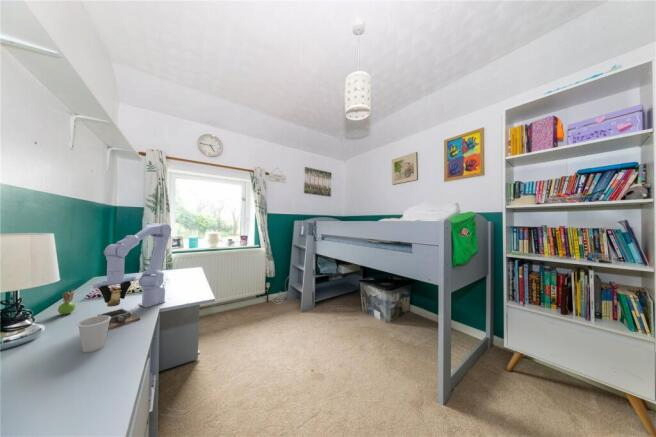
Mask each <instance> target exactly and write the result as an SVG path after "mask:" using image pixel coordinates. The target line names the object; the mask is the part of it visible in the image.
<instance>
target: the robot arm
mask: <svg viewBox="0 0 656 437" xmlns="http://www.w3.org/2000/svg"><path fill="white" fill-rule="evenodd" d="M171 233H172V228H171V226H170V224H169V223H159V222H157V223H154V222H150V223H148V224H146V225H145V227H143V229H141V230H140V231H138V232H137V233H135V234H134V235H133V234H130V235H128V234H127V235H125V237H124V238H123V239H121V240H118V241H116V243H111V244H108V245H107V246H106V247H105V249H104V250H103V255H104V256H105V258H106V261H107V264H106V265H107V266H106V280H104V281H98V282H95V283H92V285H91V286H92V289H94V290H95V289H98V290H99V291H100V292H101V295H102V297H103V299H104V300H103V301H104V303H105V304H107V303H108V302H109V291H110V288H111V287H109V286H115V285H119V286H120V287H119V288H123V290H122V291H121V298H120V300H124V299H125V297H126V295H127V292H128V291H129V289H130V287H131V285H132V282H136V279H137V277H136V276H128V277H125V262H126V260H125V259H126V256H128V254H129V252H130V251H131V250H132V249H133V248H135V247H137V246H138V245H140V241H141V240H144V239H145V238H148V237H149V236H151V237H152V238H153V239H155V245H154V247H153V251H152V255H151V258H150V261H149V264H148V268H147V269H146V270H144V271H142V273H141V276H140V277H139V279H138V285H139V286H140V289H141V290H142V292H141V296H142V297H141V298H142V299H141V302H139V303H137V304H138V305H139V306H141V307H144V308H148V307H152V306H155V305H159V303H160V304H163V303H165V302H166V300H165V298H166V297H165V296H166V289H165V287H164V285H162V284H164V275H165V274H164V272H163V271H162V270H161V268H162V264H163V261H164V258H165V254H166V250H167V247H168V242H169V239H170V235H171Z"/></svg>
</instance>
